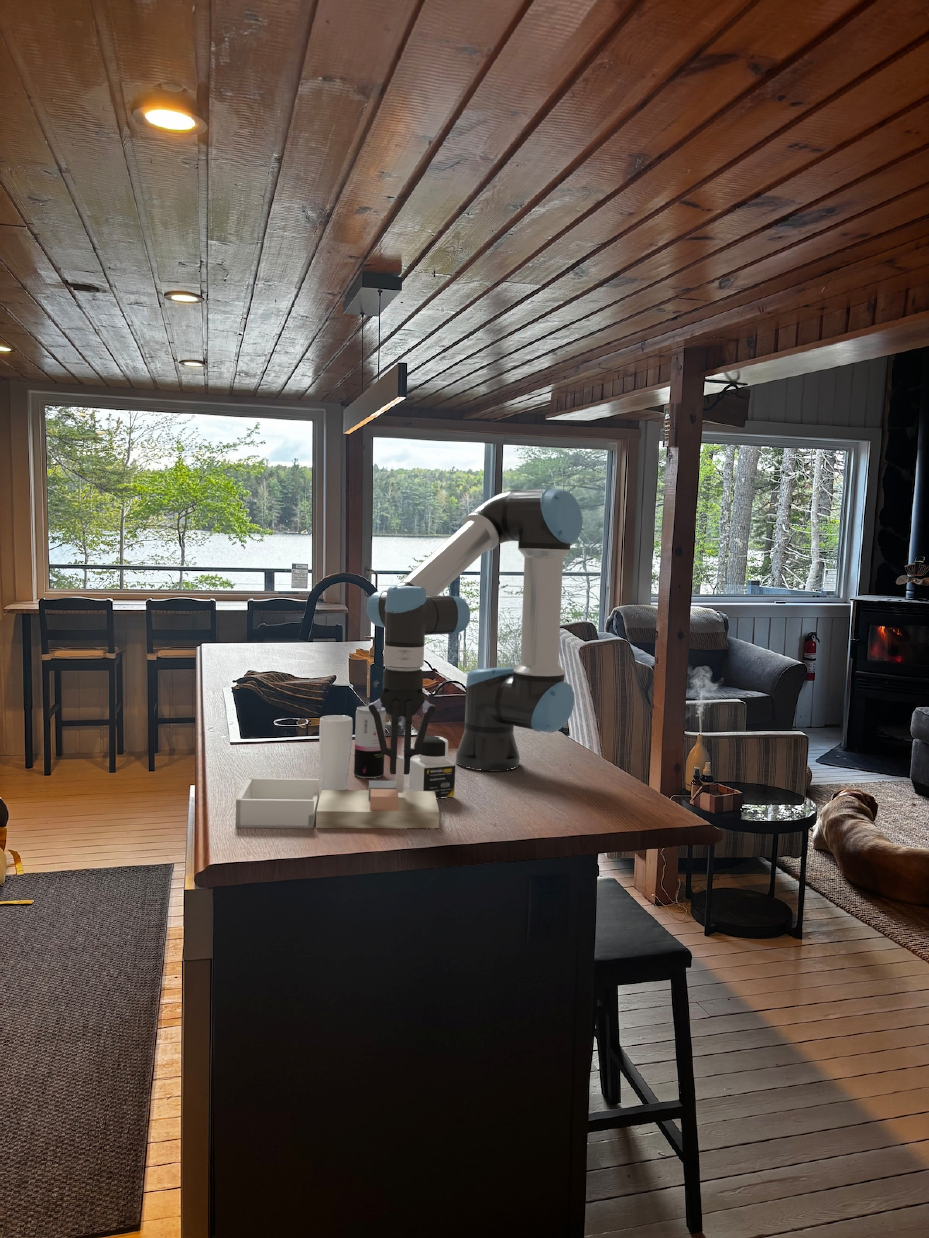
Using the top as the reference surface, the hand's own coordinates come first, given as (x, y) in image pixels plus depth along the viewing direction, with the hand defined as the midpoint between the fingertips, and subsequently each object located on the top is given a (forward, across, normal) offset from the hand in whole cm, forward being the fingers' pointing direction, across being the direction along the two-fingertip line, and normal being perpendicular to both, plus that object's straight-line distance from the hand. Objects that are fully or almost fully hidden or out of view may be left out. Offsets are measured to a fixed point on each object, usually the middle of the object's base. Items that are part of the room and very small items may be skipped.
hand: (399, 790), depth 167 cm
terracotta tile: (+1, -3, -6) cm, 7 cm away
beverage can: (+5, -6, +28) cm, 29 cm away
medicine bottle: (+5, +7, +13) cm, 15 cm away
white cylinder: (+5, -13, +16) cm, 21 cm away
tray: (+4, -22, -2) cm, 23 cm away
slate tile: (+1, -3, 0) cm, 3 cm away
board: (+4, -4, -2) cm, 6 cm away
